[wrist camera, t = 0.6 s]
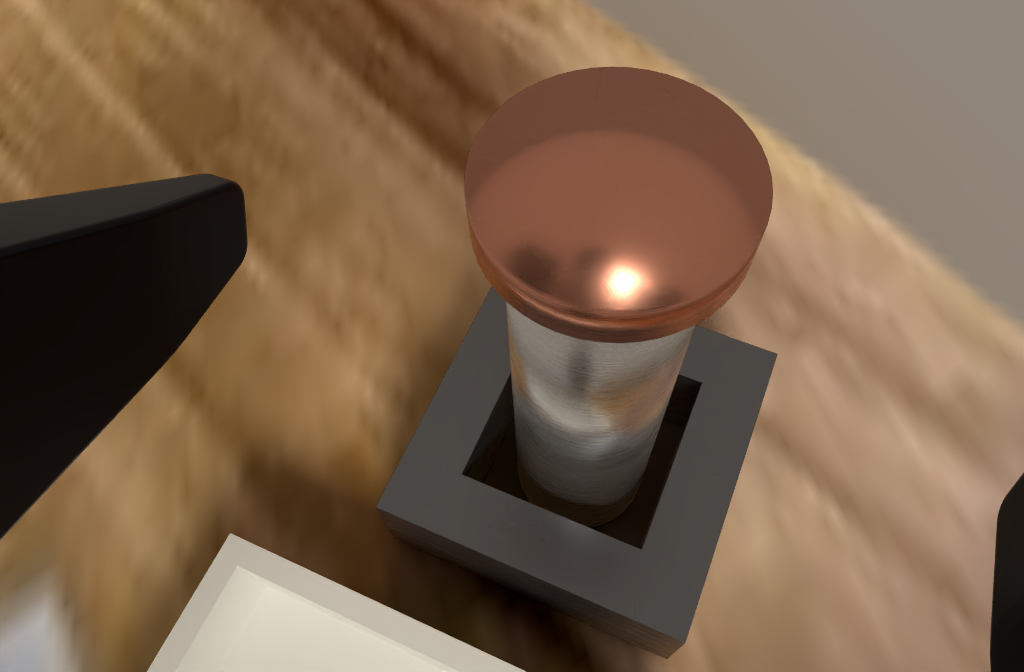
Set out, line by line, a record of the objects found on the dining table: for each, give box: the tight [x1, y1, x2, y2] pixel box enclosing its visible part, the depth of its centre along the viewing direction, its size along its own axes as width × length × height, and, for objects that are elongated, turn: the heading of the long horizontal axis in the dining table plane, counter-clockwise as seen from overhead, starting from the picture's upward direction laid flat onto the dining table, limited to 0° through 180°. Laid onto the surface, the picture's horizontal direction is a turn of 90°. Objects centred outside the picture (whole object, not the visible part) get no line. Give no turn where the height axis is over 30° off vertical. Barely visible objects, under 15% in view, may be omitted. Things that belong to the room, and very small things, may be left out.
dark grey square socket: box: [376, 286, 777, 659], centre depth 22 cm, size 8×8×3 cm
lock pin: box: [464, 67, 773, 527], centre depth 18 cm, size 5×5×13 cm
